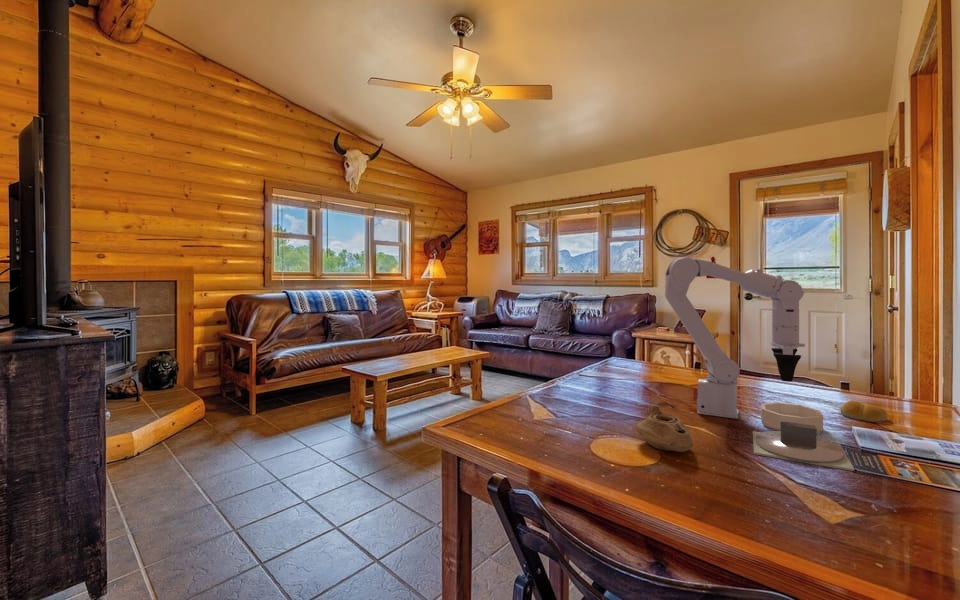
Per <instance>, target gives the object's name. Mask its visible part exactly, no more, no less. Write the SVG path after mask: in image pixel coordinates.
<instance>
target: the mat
mask: <svg viewBox="0 0 960 600" xmlns="http://www.w3.org/2000/svg"><path fill="white" fill-rule="evenodd" d="M759 433H761V432H759V431H754V430H753V431H752V444H753V445H752V446H753V454H754V455H758V456H764V457H769V458H774V459H775V458H776V459H780V460H786V461H793V462H799V463H803V464H804V463H805V464H811V465H815V466H822V467H828V468H834V469H840V470H845V471H853V472H855V468H854V466H853V465H852V463H851V461H850V459H849V457H848V455H847V454H846V452H845V450H844V448H843V447H842V445H841V443H834V442H833V443H834V444H836V445H838V446H839V447H841V448H842V449H843V451H844V459H843V460H841V461H839V462H835V463H811V462H803V461H798V460H793V459H789V458H785V457H782V456H779V455H776V454H773V453H770V452H768V451H766V450H764V449H762V448H761V447H759V446H758V445H757V443H756V435H757V434H759Z"/></svg>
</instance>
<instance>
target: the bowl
mask: <svg viewBox="0 0 960 600" xmlns="http://www.w3.org/2000/svg"><path fill="white" fill-rule="evenodd" d="M760 404H761V405H760V419H761V420H760V421H761V424H762V425H763V426H765V427H766V428H770V429H773V430H774V431H780V421H783V422H791V423H798V424H806V425H813V426H815V427H816V429H817V435H818V434H820V433H822V431H823V430H824V416H823V414H822V412H821V410H819V409H817V408H816V409H815V408H812V407H809V406H805V405H802V404H796V403H789V402H788V403H787V402H778V401H777V402H776V401H775V402H765V403H760Z"/></svg>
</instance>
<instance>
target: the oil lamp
mask: <svg viewBox="0 0 960 600" xmlns="http://www.w3.org/2000/svg"><path fill="white" fill-rule="evenodd" d="M635 429H636V432H637V433H638V434H639V436H641V438H643V439H644V440H645V441H646V442H647V444H648V445H649V446H652V447H653V448H656V449H658V450H661V451H662V450H663V451H665V452H666V451H667V452H672V451H673V452H678V453H679V452H680V453H682V452H683V453H684V452H687V451H690V450H691V449H692V447H693V446H694V442H693V438H692V433H691V432H690V430H689V429H688V428H687V427H686V426H685V424H684V423H683V421H682V420H681V419H680V418H679V417H678V416H675V415H673V414H671V413H664V412H663V411H662V410H661V409H660V406H659V405H658V404H652V405H650V406H649V407H648V413H647V416H646V418H645V419H643V420H642V421H640V422H638V423H637V424H636V428H635Z"/></svg>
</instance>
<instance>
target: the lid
mask: <svg viewBox="0 0 960 600" xmlns="http://www.w3.org/2000/svg"><path fill="white" fill-rule="evenodd" d="M817 435H818V434H817V429H816V427H815V426H813V425H806V424H798V423H791V422H783V421H780V431H778V430H769V431H762V432H761V433H759V434H757V435H756V443H757V445H758V446H759V447H761V448H762V449H764V450H766V451H768V452H770V453H773V454H776V455H779V456H782V457H785V458H789V459H793V460H798V461H803V462H811V463H835V462H839V461H841V460H843V459H844V452H845V450H844V448H843V447H842V446H841V447H842V448H843V449H842V448H841V447H839V446H838V445H836V444H837V443H836V444H834V442H832V441H829V440H828V439H824V438H821V437H817ZM843 450H844V451H843ZM798 461H797V462H798ZM803 462H802V463H803Z"/></svg>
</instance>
